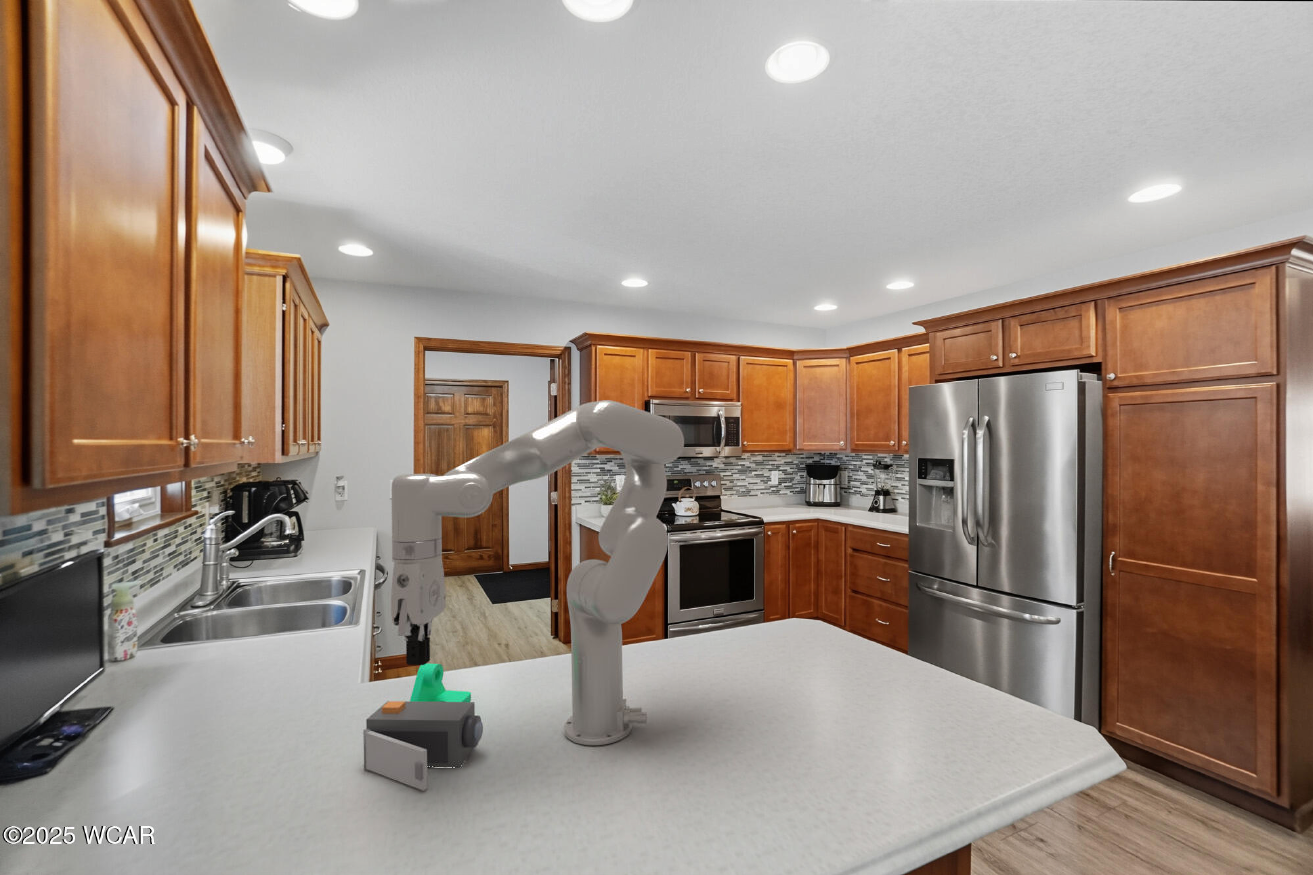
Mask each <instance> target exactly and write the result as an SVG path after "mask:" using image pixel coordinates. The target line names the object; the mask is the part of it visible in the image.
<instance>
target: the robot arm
mask: <svg viewBox="0 0 1313 875" xmlns="http://www.w3.org/2000/svg"><path fill="white" fill-rule="evenodd" d="M684 446H685V437H684V434H683V432H682V429H681V428H680V427H679V425H678V424H676V422H674V421H672V420H671V419H669V418H666V417H664V416H661V415H657V414H654V413H652V412H648V411H647V410H646V411H645V410H642V409H639V408H637V407H633V406H631V405H627V404H624V403H622V402H619V401H614V400H609V399H607V400H598V401H592V402H590V401H589V402H586V403H584V404H581V405H579V406H576V407H575V408H573V409H570V410H568V411H566V412H565V413H563V414H561V415H559V416H557V417H555V418H553V419H551V420H549V421H548V422H545V423H544V424H543V423H542V424H541V425H539V426H536V427H535V428H534V429H532V430H530V431H529V430H528V431H527V432H525V433H523V434H521V435H519V436H517V437H516V438H515V437H514V438H512V439H511V440H510V441H508V442H505V443H503V444H501V445H500V446H497V447H495V448H493V449H490V450H488V451H487V452H484V453H482V454H481V455H478V456H476V457H474V458H472V459H470V460H468V461H466V462H464V463H462V464H461V465H458V466H457V467H454V468H453V469H451V470H449V471H447V472H446V473H445V474H444V475H436V474H434V473H433V474H432V473H408V474H407V473H406V474H400V475H397V476H395V477H394V478H393V480H392V482H391V535H392V536H391V561H392V562H393V570H392V576H391V577H392V578H391V579H392V580H391V593H390V594H391V596H390V600H391V601H390V611H391V612H390V614H391V615H390V616H391V622H392V624H393V625H394V626H397V636H399V637H404V641H405V648H406V650H405V651H406V655H405V656H406V657H405V658H406V665H408V666H421V665H425V664H426V663H429V662H430V661H431V635H432V624H433V623H432V622H433V620H434V619H435V618H437V617H438V616H439V615H441V614H442V613H443V612H444V611H445V609H446V586H445V584H446V582H445V572H444V570H445V569H444V565H443V564H444V563H443V558H442V556H443V550H442V549H443V548H442V546H443V544H442V543H443V542H442V541H443V538H442V537H443V536H442V535H443V534H442V532H443V529H442V528H443V527H442V523H443V522H442V519H443V518H442V517H457V518H472V517H476V516H479V515H480V514H483V512H485V511H486V510H487V509H488V508H489V507H490V505H491V503H492V501H493V494H495V493H497V492H499V491H501V490H503V489H506V488H508V487H511V486H513V485H516V484H519V483H522V482H527V481H533V480H537V479H538V480H539V479H540V478H543V477H546V476H549V475H551V474H553V473H555V472H556V471H558V470H560V469H562V468H564V467H565V466H567V465H569V464H571V463H572V462H574V461H577V459H579V458H581V457H583V456H585V455H587V454H589V453H590V452H591V453H592V451H594V450H596V449H598V448H607V449H608V448H609V449H611V450H614V451H618V452H620V454H621V456H622V458H623V462H624V467H625V478H624V480H623V481H624V482H623V484H622V486H621V489H620V491H619V493H618V495H617V497H616V499H615V500H614V503H613V504H612V507H611V508H610V509H609V511H608V514H607V516H606V517H605V519H604V521H603V523H602V524H601V526H600V530H599V531H598V532H599V533H598V544H599V546H600V548H601V550H602V551H603V552H604V553H605V554H607V555H608V556H610V558H609V560H608V562H606V561H605V560H601V559H596V558H594V559H586V560H584V561H582V562H580V563H578V564H576V566H574V567H573V569H571V572H570V573H569V575H568V578H567V583H566V598H567V599H566V601H567V606H568V614H569V621H570V623H569V624H570V637H571V638H570V640H571V641H570V643H571V645H570V646H571V648H570V649H571V650H570V651H571V655H570V656H571V660H570V661H571V703H572V705H571V707H572V708H571V709H572V710H571V711H572V715H571V716H570V717H569V718H568V719H567V720H566V721H565V723H564V727H563V728H564V729H563V731H564V735H565V737H566V738H567V739H569V741H572V742H573V743H577V744H580V745H585V746H602V745H603V746H604V745H608V744H613V743H615V742H619V741H621V740H622V739H624V738H625V737H627V736H628V735H629V734H630V733H631V731H632V727H633V726H632V725H633V724H647V722H648V720H647V719H648V713H647V711H642V707H630V706H627V699H626V698H624V686H623V684H624V682H623V676H624V674H623V632H622V629H623V628H622V624H624V623H626V622H628V621H629V620H631V619H632V618H633V617H634V615H636V614H637V612H638V611H639V609H640V608H641V606H642V604H643V603H644V601H645V599H646V598H647V595H648V593H649V592H650V591H649V590H650V589H651V586H652V585H653V583H654V581H655V579H656V576H657V574H658V572H659V570H660V569H661V566H662V565H663V563H664V560H665V557H666V555H667V550H668V545H669V538H668V531H667V529H666V527H665V525H664V523H663V522H662V521H661V520H660V519H659V518H657V515H658V514H659V511H660V509H661V507H662V504H663V501H664V499H665V496H666V492H667V487H668V483H667V481H668V478H667V475H666V474H667V473H666V469H665V465H666V464H671V463H672V462H674V461H676V460H677V459H678V458H679V456H681V454H682V453H683V450H684Z"/></svg>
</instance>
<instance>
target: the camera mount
mask: <svg viewBox="0 0 1313 875" xmlns="http://www.w3.org/2000/svg"><path fill="white" fill-rule="evenodd" d="M443 678H444V666H443V665H442V663H429V662H427V663H426V664H425V665H419V668H418V671H417V674H416V677H415V681H414V684H413V688H412V691H411V695H410V698H409V702H472V692H471V691H463V690H449V689H448V690H446V688H445V685H444V683H443V682H442V681H443Z"/></svg>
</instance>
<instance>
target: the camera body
mask: <svg viewBox="0 0 1313 875" xmlns="http://www.w3.org/2000/svg"><path fill="white" fill-rule="evenodd" d="M475 705H476V704H475V702H474V701H470V702H410V701H395V700H393V701H392V700H391V701H386V702H385V703H383V705H381V706H380V707H379V708H377V710H376V711H375V712H374V713H372V714H370V716H368V717H367V718H366V720H365V721H366V723H365V724H366V725H365V726H366V728H365V729H370V731H373V732H376V733H379V734H382V735H385V736H388V737H391V738H394V739H397V740H400V741H403V742H406V743H409V744H412V745H415V746H418V747H421V748H424V749H427V766H428V767H429V766H430V767H432V766H433V767H452V768H451V769H455V768H460V767H461V768H462V766H463V765H464V764H465V762H466V761H465V760H467V759H468V758H469V757H468V756H470V755H471V754H472V753H473V751H474V749H475V748H476V747H478V744H479V742H480V741H481V739H482V737H483V732H484V725H483V724H484V723H483V722H482V718H481V716H480V715H475V713H476V712H475V711H476V710H475ZM467 757H468V758H467ZM464 761H465V762H464ZM463 763H464V764H463ZM461 765H462V766H461ZM453 767H455V768H453ZM461 768H460V769H461Z"/></svg>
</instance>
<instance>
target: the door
mask: <svg viewBox="0 0 1313 875" xmlns="http://www.w3.org/2000/svg"><path fill="white" fill-rule="evenodd" d="M362 734H363V770H364V771H371V772H374V773H377V774H379V775H381V776H383V777H387V778H389V779H392V780H395V781H398V782H400V783H402V784H405V785H407V786H410V787H413V788H416V789H418V790H421V791H425V790H427V789H428V768H427V749H424V748H421V747H418V746H415V745H412V744H409V743H406V742H403V741H400V740H397V739H394V738H391V737H388V736H385V735H382V734H379V733H376V732H373V731H370V729H366V728H364V729H363V733H362Z"/></svg>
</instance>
